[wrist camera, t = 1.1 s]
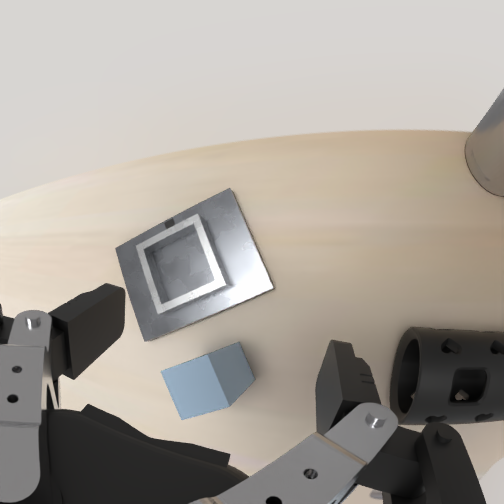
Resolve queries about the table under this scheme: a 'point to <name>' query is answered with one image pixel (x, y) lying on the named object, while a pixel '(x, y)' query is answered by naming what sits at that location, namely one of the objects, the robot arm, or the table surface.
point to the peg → (209, 381)
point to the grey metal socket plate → (192, 266)
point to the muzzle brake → (448, 377)
